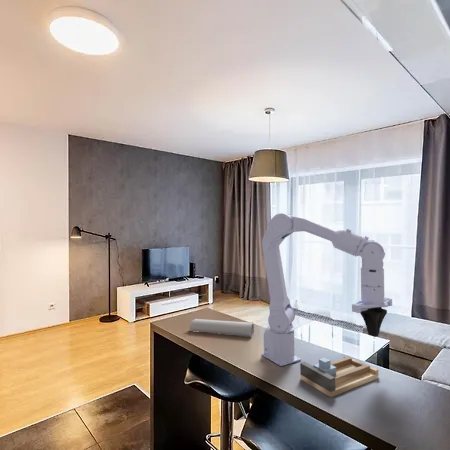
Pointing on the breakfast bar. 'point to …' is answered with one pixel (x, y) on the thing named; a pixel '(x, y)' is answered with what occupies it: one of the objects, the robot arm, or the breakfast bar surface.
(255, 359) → the breakfast bar surface
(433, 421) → the breakfast bar surface
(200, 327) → the tube
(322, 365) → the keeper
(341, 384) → the track
